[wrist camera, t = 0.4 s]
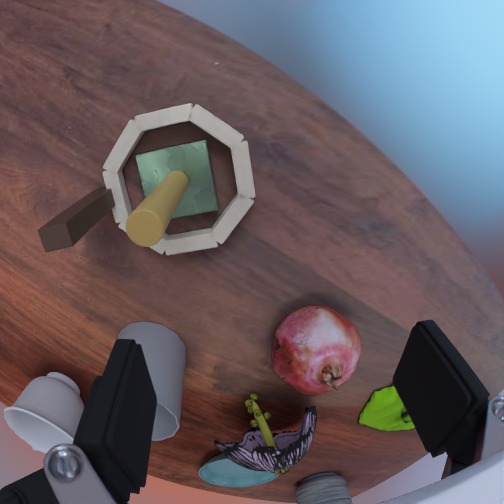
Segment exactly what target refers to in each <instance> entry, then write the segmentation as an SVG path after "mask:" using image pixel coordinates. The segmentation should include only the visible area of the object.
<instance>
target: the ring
mask: <svg viewBox="0 0 504 504" xmlns="http://www.w3.org/2000/svg"><path fill="white" fill-rule="evenodd" d="M187 121H191V122H192V123H194V124H195V125H197V126H198V127H200V128H201V129H203V130H204V131H206V132H207V133H209V134H210V135H212V136H213V137H215V138H216V139H218V140H219V141H221V142H222V143H224V144H225V145H226V146H228V147H229V148H231V154H232V160H233V166H234V173H235V179H236V185H237V191H238V192H237V194H236V195H235V196H234V198H233V199H232V200H231V202H230V203H229V204H228V206H227V207H226V209H225V210H224V211H223V213H222V214H221V215H220V217H219V218H218V219H217V221H216V222H215V224H214V225H213V226H212V228H207V229H201V230H196V231H190V232H184V233H179V234H173V235H168V234H166V233H165V232H164V234H163V236H162V238H161V240H160V241H159V242H158V243H157V244H155V245H153V246H150V248H152V249H154V250H155V251H157V252H158V253H160V254H163V253H164V251H165V252H166V255H172V254H178V253H184V252H190V251H196V250H202V249H208V248H214V247H218V243H220V244H223V243H224V241H225V240H226V239H227V237H228V236H229V235H230V233H231V232H232V231H233V229H234V228H235V227H236V225H237V224H238V223H239V222H240V220H241V219H242V218H243V216H244V215H245V214H246V212H247V211H248V210H249V208H250V207H251V206H252V205H253V203H254V199H253V198H254V197H256V195H255V189H254V182H253V175H252V168H251V161H250V155H249V148H248V142H247V141H246V140H244V141H242V140H243V139H244V136H243V135H242V134H240V133H239V132H238V131H236V130H235V129H233V128H232V127H230V126H229V125H227V124H226V123H225V122H223V121H222V120H220V119H219V118H217V117H216V116H214V115H213V114H211V113H210V112H208V111H207V110H205V109H204V108H202V107H201V106H199V105H197V104H196V105H195V106H194V107H193V104H191V103H189V104H184V105H179V106H175V107H170V108H166V109H162V110H158V111H154V112H150V113H146V114H142V115H138V116H135V119H134V120H130V121H129V123H128V124H127V126H126V128H125V129H124V131H123V132H122V134H121V136H120V138H119V139H118V141H117V143H116V144H115V146H114V148H113V150H112V151H111V153H110V155H109V157H108V159H107V160H106V162H105V164H104V166H103V168H104V169H105V170H106V171H104V172H103V178H104V182H105V186H106V188H102V189H98V190H94V191H93V192H91V193H90V194H88V195H87V196H85V197H84V198H82V199H81V200H79V201H78V202H76V203H75V204H73V205H72V206H70V207H69V208H67V209H66V210H65V211H63V212H62V213H60V214H59V215H58V216H56V217H55V218H53V219H52V220H51V221H49V222H48V223H47V224H45V225H44V226H43V227H41V228H40V229H39V230H38V232H39V235H40V238H41V241H42V244H43V246H44V249H45V252H49V251H54V250H58V249H62V248H67V247H71V246H74V245H75V244H76V243H77V242H78V241H79V240H80V239H81V238H82V237H83V236H84V235H85V234H86V233H87V232H88V231H89V230H90V229H91V228H92V227H93V226H94V225H95V224H96V223H97V222H98V221H99V220H100V219H101V218H103V217H104V216H105V215H106V214H107V213H108V212H109V211H110V210H111V209H112V212H113V216H114V219H115V223H119V222H121V223H120V225H119V228H120V229H122V230H124V231H125V232H126V221H127V219H128V217H129V215H130V214H131V213H132V208H131V204H130V201H129V197H128V193H127V189H126V185H125V180H124V176H123V172H122V169H123V167H124V166H125V164H126V162H127V160H128V159H129V157H130V155H131V154H132V152H133V150H134V149H135V147H136V145H137V144H138V142H139V141H140V139H141V137H142V136H143V134H144V133H145V131H147V130H151V129H155V128H160V127H164V126H168V125H173V124H177V123H182V122H187Z"/></svg>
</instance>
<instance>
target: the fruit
mask: <svg viewBox="0 0 504 504" xmlns="http://www.w3.org/2000/svg"><path fill="white" fill-rule="evenodd" d="M360 352H361V339H360V335H359V332H358V330H357V328H356V326H355V325H354V324H353V323H352V322H350V321H349V320H348V319H346V318H345V317H343V316H342V315H340V314H339V313H338V312H337V311H335V310H333V309H331V308H328V307H324V306H317V305H312V306H306V307H303V308H300V309H298V310H297V311H295V312H293V313H291V314H289V315H288V316H287V317H285V318H284V319H283V320H282V321H281V322H280V324H279V325H278V327H277V328H276V330H275V332H274V335H273V339H272V345H271V361H272V367H273V371H274V372H275V374H276V375H277V376H278V377H279V378H280V379H281V380H282V381H283V382H284V383H286V384H287V385H289V386H291V387H292V388H294V389H295V390H297V391H298V392H300V393H301V394H303V395H308V396H317V395H322V394H325V393H327V392H329V391H331V390H334V389H336V390H339V389H338V387H339V386H341V385H343V384H344V383H345V382H346V381H347V380H348V379H349V378H350V377H351V376H352V374H353V373H354V371H355V369H356V366H357V363H358V360H359V357H360Z"/></svg>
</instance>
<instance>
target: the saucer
mask: <svg viewBox="0 0 504 504" xmlns="http://www.w3.org/2000/svg"><path fill="white" fill-rule="evenodd" d="M279 475H280V474H275V473H271V471H254V470H250V469H246V468H244V467H241V466H239V465H238V464H236V463H234V462H233V461H231V460H230V459H228V458H227V457H226V456H225V455H224V454H220V455H217V456H215V457H213V458H212V459H210V460H209V461H207V462H206V463H205V464H204V465H203V466H202V467H201V468H200V470H199V476H200V477H201V478H202V479H203V480H204V481H206V482H208V483H211V484H215V485H219V486H226V487H247V486H254V485H259V484H263V483H266V482H268V481H271V480H273V479H275V478H276V477H277V476H279Z"/></svg>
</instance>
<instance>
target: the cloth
mask: <svg viewBox="0 0 504 504" xmlns="http://www.w3.org/2000/svg"><path fill="white" fill-rule="evenodd" d="M359 424H365V425H367V426H368V427H369V426H371V427H374V428H377V429H379V430H386V431H390V430H403V429H404V430H408V429H411V428H415V426H414V424H413V422H412V420H411V418H410V416H409V414H408V412H407V410H406V408H405V406H404V404H403V403H402V401H401V399H400V397H399V395H398V393H397V391H396V389H395V387H394V385H393V384H392V386H391V387H387V388H383V389H382V390H380V391H376V390H375V391H374V392H373V393H372V396H371V399H370V400H369V401H368V402H367V404H366V406H365V408H364V409H363V410H362V412H361V413H360V420H359Z"/></svg>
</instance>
